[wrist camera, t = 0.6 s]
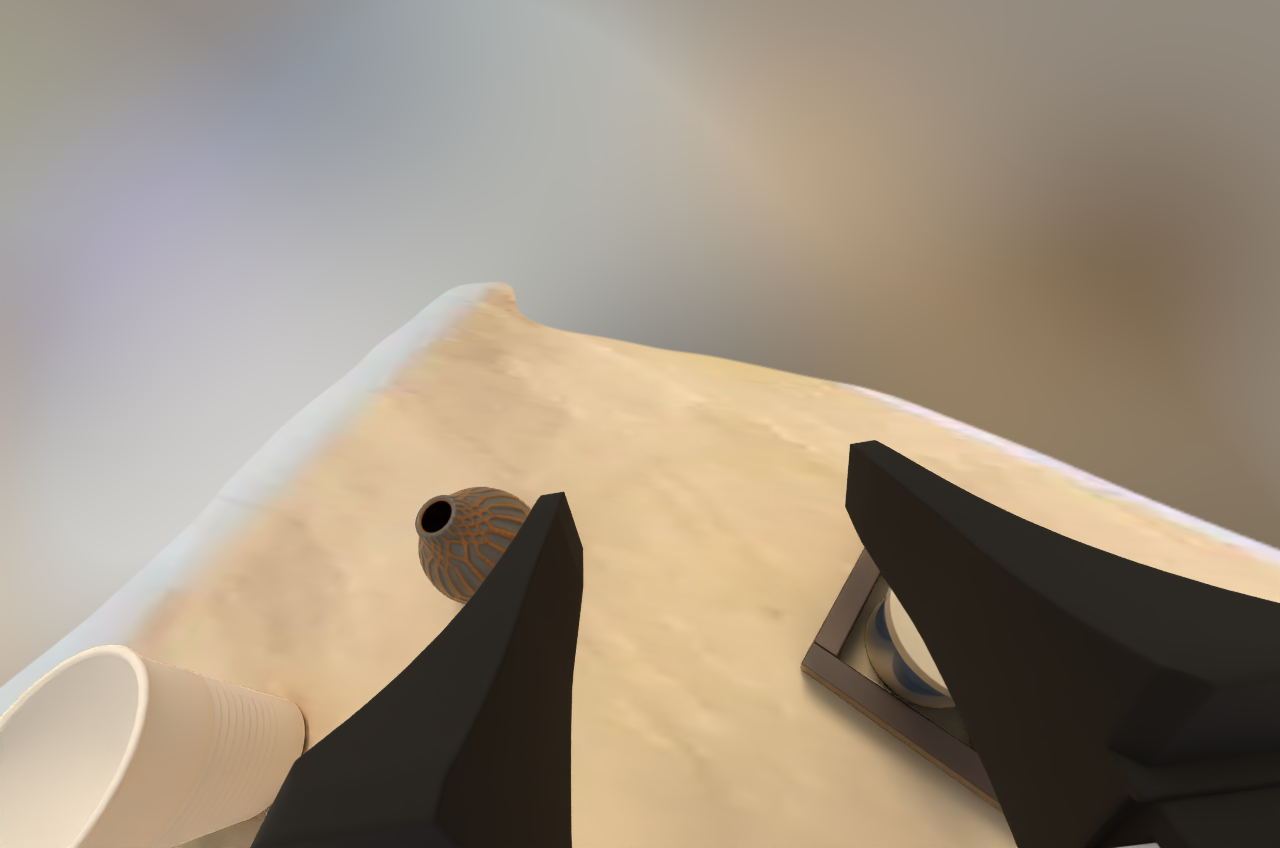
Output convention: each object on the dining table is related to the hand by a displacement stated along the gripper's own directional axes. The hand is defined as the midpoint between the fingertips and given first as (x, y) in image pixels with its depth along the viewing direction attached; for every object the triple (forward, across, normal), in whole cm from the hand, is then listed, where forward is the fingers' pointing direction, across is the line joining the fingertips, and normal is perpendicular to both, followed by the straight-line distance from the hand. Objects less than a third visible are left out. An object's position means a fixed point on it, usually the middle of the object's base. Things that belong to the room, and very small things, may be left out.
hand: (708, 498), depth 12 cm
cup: (+6, +29, +21) cm, 36 cm away
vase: (+14, +12, +15) cm, 24 cm away
